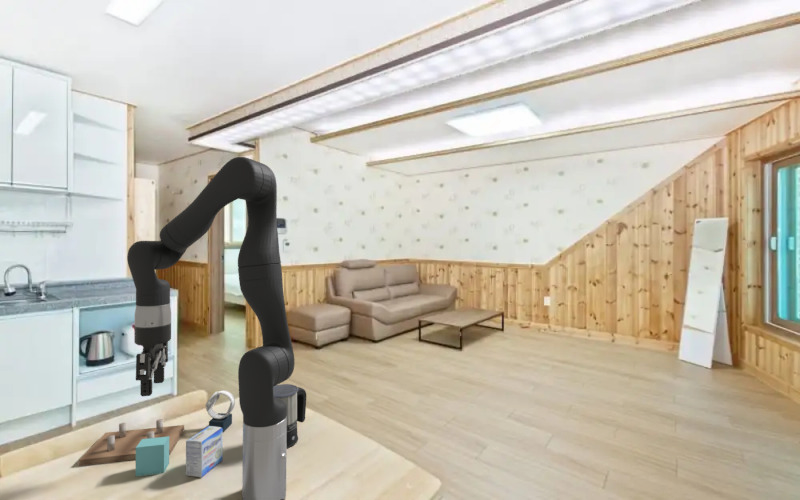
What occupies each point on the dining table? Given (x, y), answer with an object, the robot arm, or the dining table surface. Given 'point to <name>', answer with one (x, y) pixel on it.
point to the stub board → (127, 443)
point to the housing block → (152, 456)
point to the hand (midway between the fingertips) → (153, 388)
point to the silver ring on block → (221, 418)
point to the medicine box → (204, 451)
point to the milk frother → (292, 408)
